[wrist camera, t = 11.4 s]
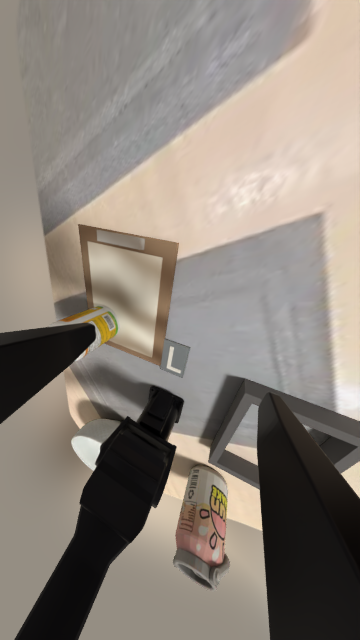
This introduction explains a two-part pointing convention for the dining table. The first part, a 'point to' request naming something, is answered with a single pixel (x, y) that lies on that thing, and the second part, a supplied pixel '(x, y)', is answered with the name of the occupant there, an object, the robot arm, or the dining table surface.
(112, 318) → the supplement bottle
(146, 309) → the clipboard
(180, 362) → the letter card
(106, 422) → the cereal bowl
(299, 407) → the empty rectangular frame
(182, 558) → the beverage can
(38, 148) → the dining table surface
